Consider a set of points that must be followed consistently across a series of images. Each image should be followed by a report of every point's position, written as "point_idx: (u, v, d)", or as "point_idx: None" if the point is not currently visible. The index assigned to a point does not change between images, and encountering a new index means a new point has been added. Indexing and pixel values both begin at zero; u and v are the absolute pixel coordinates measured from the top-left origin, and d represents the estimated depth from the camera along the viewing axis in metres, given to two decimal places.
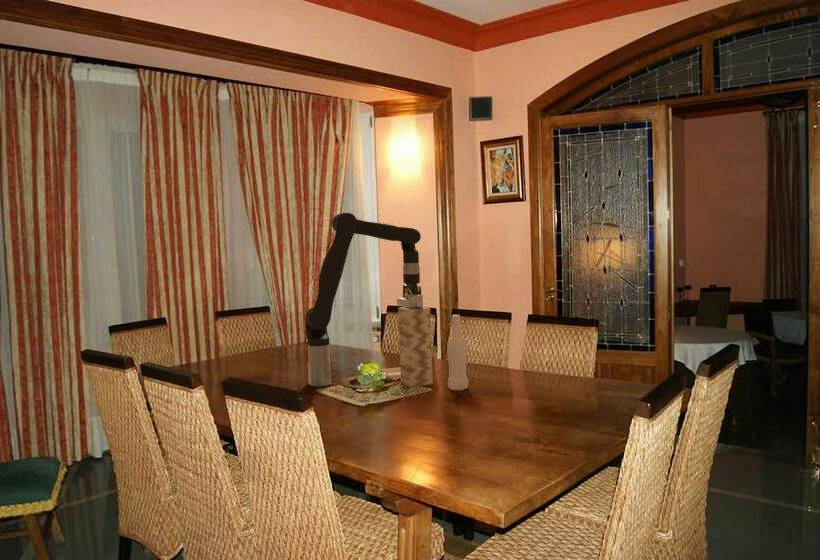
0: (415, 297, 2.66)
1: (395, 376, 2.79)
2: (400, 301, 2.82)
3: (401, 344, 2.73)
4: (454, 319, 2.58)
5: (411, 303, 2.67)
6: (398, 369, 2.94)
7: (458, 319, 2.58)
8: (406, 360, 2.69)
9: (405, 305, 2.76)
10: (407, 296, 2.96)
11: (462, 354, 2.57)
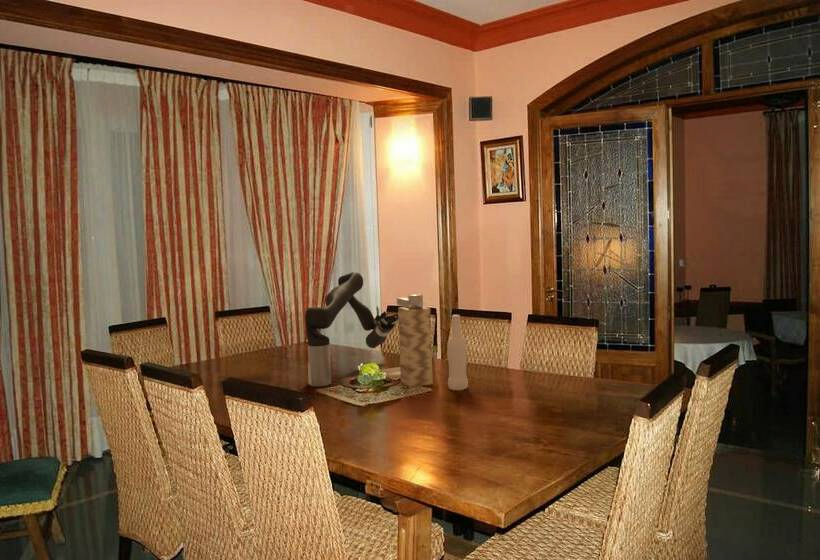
0: (415, 297, 2.66)
1: (395, 376, 2.79)
2: (400, 301, 2.82)
3: (401, 344, 2.73)
4: (454, 319, 2.58)
5: (411, 303, 2.67)
6: (398, 369, 2.94)
7: (458, 319, 2.58)
8: (406, 360, 2.69)
9: (405, 305, 2.76)
10: None
11: (462, 354, 2.57)
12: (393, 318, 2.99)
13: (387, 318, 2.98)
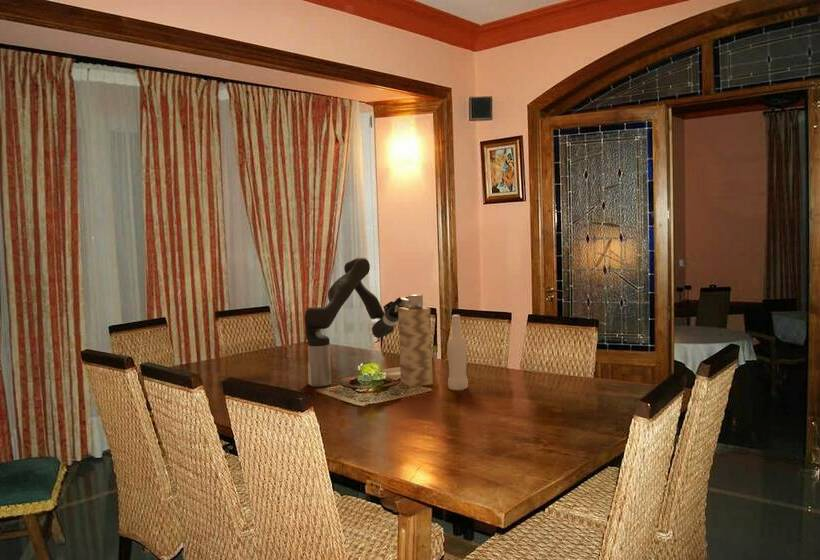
0: (415, 297, 2.66)
1: (395, 376, 2.79)
2: None
3: (401, 344, 2.73)
4: (454, 319, 2.58)
5: (411, 303, 2.67)
6: (398, 369, 2.94)
7: (458, 319, 2.58)
8: (406, 360, 2.69)
9: (405, 305, 2.76)
10: None
11: (462, 354, 2.57)
12: (399, 306, 2.88)
13: (398, 306, 2.87)
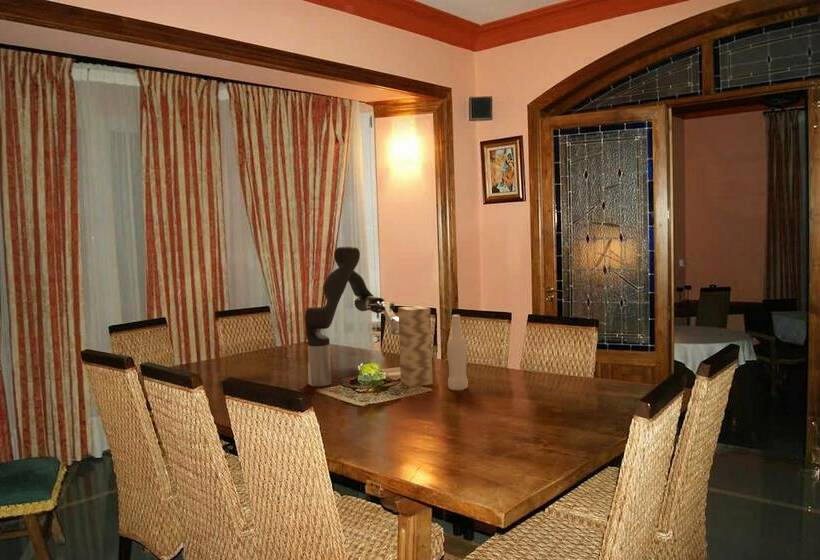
0: (397, 326, 2.82)
1: (395, 376, 2.79)
2: None
3: (401, 344, 2.73)
4: (454, 319, 2.58)
5: (392, 329, 2.84)
6: (398, 369, 2.94)
7: (458, 319, 2.58)
8: (406, 360, 2.69)
9: (387, 319, 2.92)
10: None
11: (462, 354, 2.57)
12: None
13: None
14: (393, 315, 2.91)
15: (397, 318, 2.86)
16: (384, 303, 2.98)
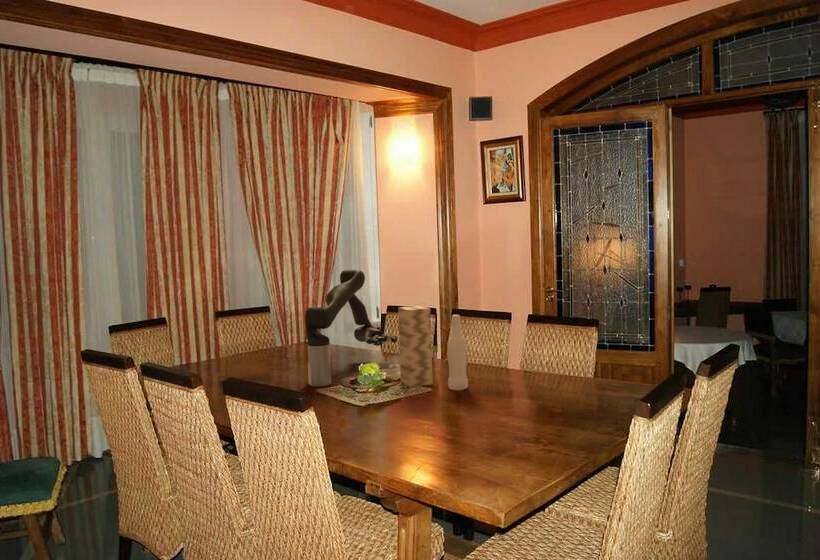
0: (393, 357, 2.86)
1: (395, 376, 2.79)
2: (381, 365, 3.01)
3: (401, 344, 2.73)
4: (454, 319, 2.58)
5: (390, 363, 2.86)
6: (398, 369, 2.94)
7: (458, 319, 2.58)
8: (406, 360, 2.69)
9: (385, 367, 2.95)
10: None
11: (462, 354, 2.57)
12: (384, 340, 3.03)
13: (378, 340, 3.02)
14: None
15: None
16: None
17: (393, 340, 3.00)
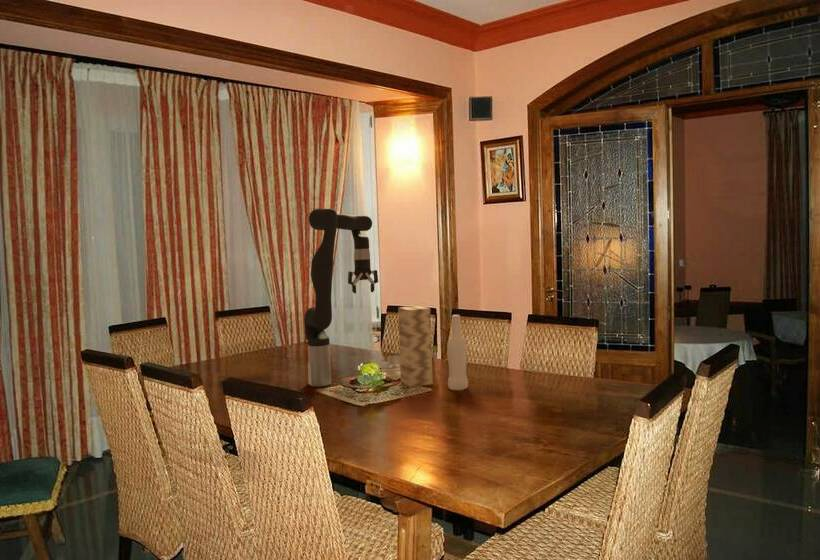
0: (393, 357, 2.86)
1: (395, 376, 2.79)
2: (381, 365, 3.01)
3: (401, 344, 2.73)
4: (454, 319, 2.58)
5: (390, 363, 2.86)
6: (398, 369, 2.94)
7: (458, 319, 2.58)
8: (406, 360, 2.69)
9: (385, 367, 2.95)
10: (352, 282, 3.03)
11: (462, 354, 2.57)
12: None
13: (359, 279, 3.04)
14: None
15: None
16: None
17: (371, 289, 3.07)
